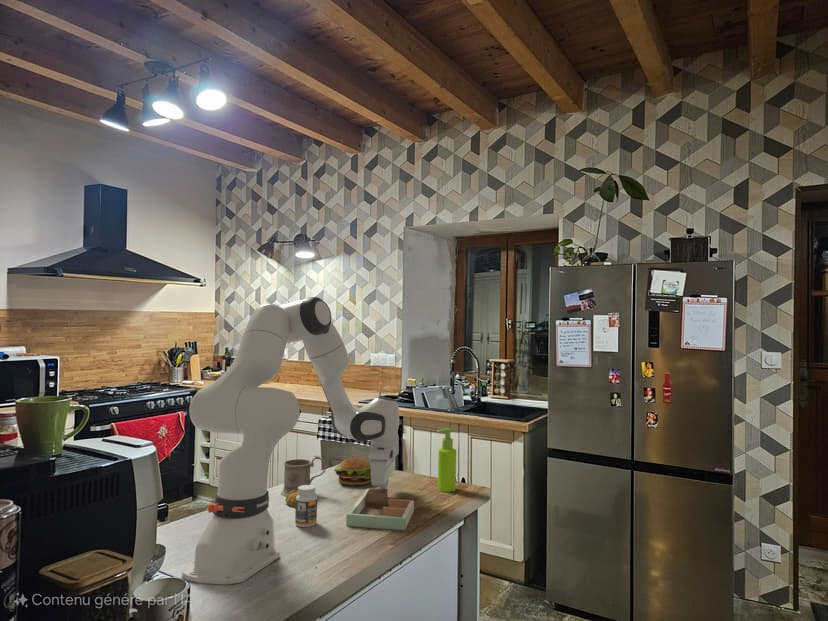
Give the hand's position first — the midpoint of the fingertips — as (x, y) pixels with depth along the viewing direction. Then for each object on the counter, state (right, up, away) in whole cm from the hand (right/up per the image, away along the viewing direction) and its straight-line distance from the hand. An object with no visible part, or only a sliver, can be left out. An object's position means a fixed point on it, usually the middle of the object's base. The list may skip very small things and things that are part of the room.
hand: (383, 492), depth 176 cm
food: (-11, -2, +18) cm, 21 cm away
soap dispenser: (+20, -2, +10) cm, 22 cm away
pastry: (-24, -1, -8) cm, 26 cm away
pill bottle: (-20, -1, -25) cm, 32 cm away
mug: (-26, -1, +3) cm, 26 cm away
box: (+1, -1, -15) cm, 15 cm away
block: (-2, -2, -6) cm, 7 cm away
